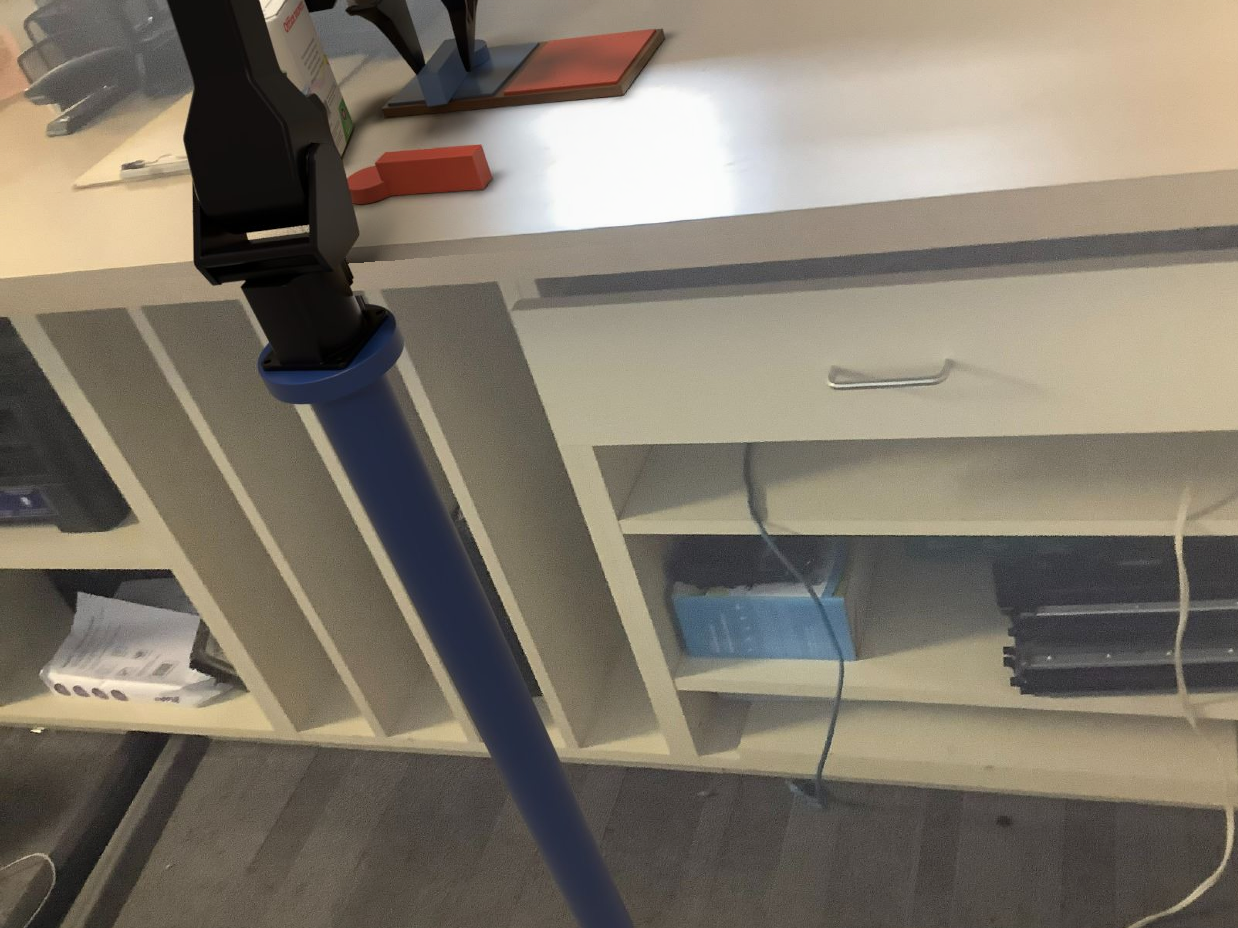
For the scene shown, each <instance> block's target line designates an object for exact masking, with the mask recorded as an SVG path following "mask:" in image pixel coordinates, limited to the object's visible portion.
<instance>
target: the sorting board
mask: <svg viewBox="0 0 1238 928" xmlns="http://www.w3.org/2000/svg"><path fill="white" fill-rule="evenodd" d="M664 39H665V32H664V28H648V29H640V30H630V31H622V32H621V31H620V32H613V33H605V34H597V35H587V36H578V37H577V36H576V37H569V38H561V39H552V40H548V41H534V42H525V43H524V42H523V43H515V44H506V45H499V46H489V47H488V46H487V47H488V50H489V53H490V58H489V59H488V60H487V61H486V62H484V63H483V64H481V65H478V66H476V67H473V69H472V71H471V72H469V73H468V75H467V76H466V78H465V79H464V81H463V82H462V83H461V85H460V86H459V88H458V89H457V91H456V92H455V93H454V95H453V96H452V98H451V99H450V101H449V102H448V104H443V105H436V106H430V107H427V104H426V101H425V98H424V95H423V93H422V90H421V87H420V84H419V81H418V79H417V75H416V74H415V76H414V77H412V78H411V79H410V80H409V82H407V83H406V84H405V85H404V86H403V87H402V88H401V89H400V90H399V91H398V92H397V93H396V94H395V95H394V96H393V97H391V98H390V100H389V101H387V102H386V103H385V104H384V105H383V106H382V107H381V108H380V111H381V113H382V114H381V115H382V116H383V118H395V117H406V116H418V115H427V114H437V113H447V112H458V111H469V110H479V109H480V110H481V109H490V108H491V109H492V108H501V107H502V108H503V107H512V106H523V105H535V104H543V103H544V104H545V103H554V102H555V103H556V102H565V101H575V100H576V101H577V100H586V99H597V98H607V97H618V96H620V97H621V96H624V95H625V94H626V92H627V90H628V89H629V88H630V86H631V85H632V84H633V82H634V81H635V80H636V78H637V77H638V76H639V74H640V73H641V71H642V70H643V69H644V67H645V66H646V64H647V63H648V61H649V60H650V59H651V58H652V56H653V54H654V53H655V52H656V50H657V49H658V48H659V47H660V45H661V44H662V42H663V41H664Z"/></svg>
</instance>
